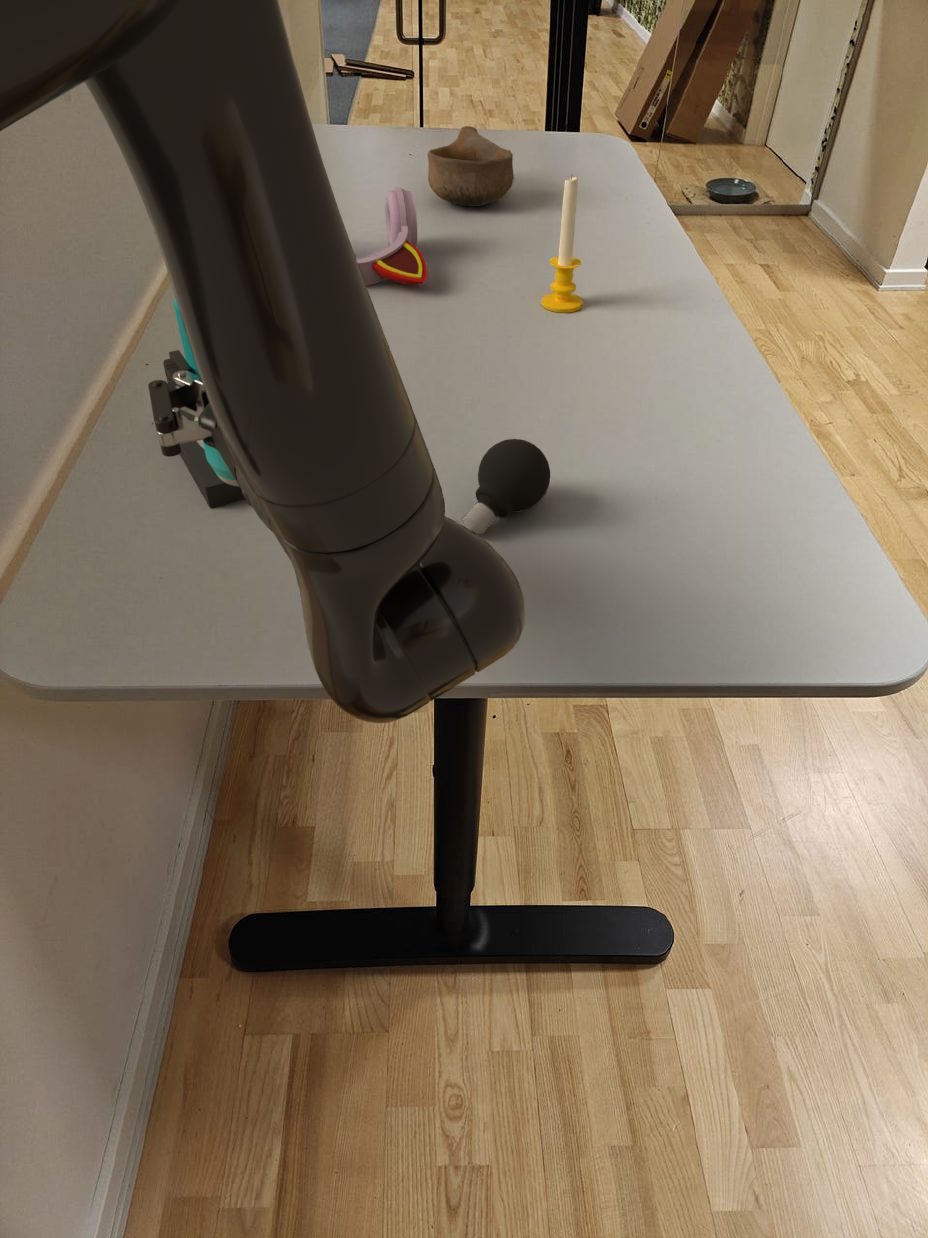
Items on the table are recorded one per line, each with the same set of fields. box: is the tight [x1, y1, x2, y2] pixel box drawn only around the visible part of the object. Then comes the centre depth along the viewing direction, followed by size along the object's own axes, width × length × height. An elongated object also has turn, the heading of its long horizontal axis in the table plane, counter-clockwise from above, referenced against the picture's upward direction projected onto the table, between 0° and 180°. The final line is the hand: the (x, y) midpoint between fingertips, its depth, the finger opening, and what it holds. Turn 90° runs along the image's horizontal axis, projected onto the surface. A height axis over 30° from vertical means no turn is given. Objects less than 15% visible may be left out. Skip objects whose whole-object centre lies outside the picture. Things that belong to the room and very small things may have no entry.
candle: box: [541, 174, 584, 314], centre depth 111 cm, size 5×5×16 cm
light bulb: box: [463, 438, 551, 535], centre depth 80 cm, size 6×6×10 cm
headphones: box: [356, 187, 428, 287], centre depth 121 cm, size 20×10×20 cm
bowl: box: [427, 125, 515, 207], centre depth 144 cm, size 18×14×10 cm
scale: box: [179, 409, 246, 509], centre depth 89 cm, size 15×16×3 cm
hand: (219, 354), depth 66 cm, fingers closed on beverage can, 5 cm apart
